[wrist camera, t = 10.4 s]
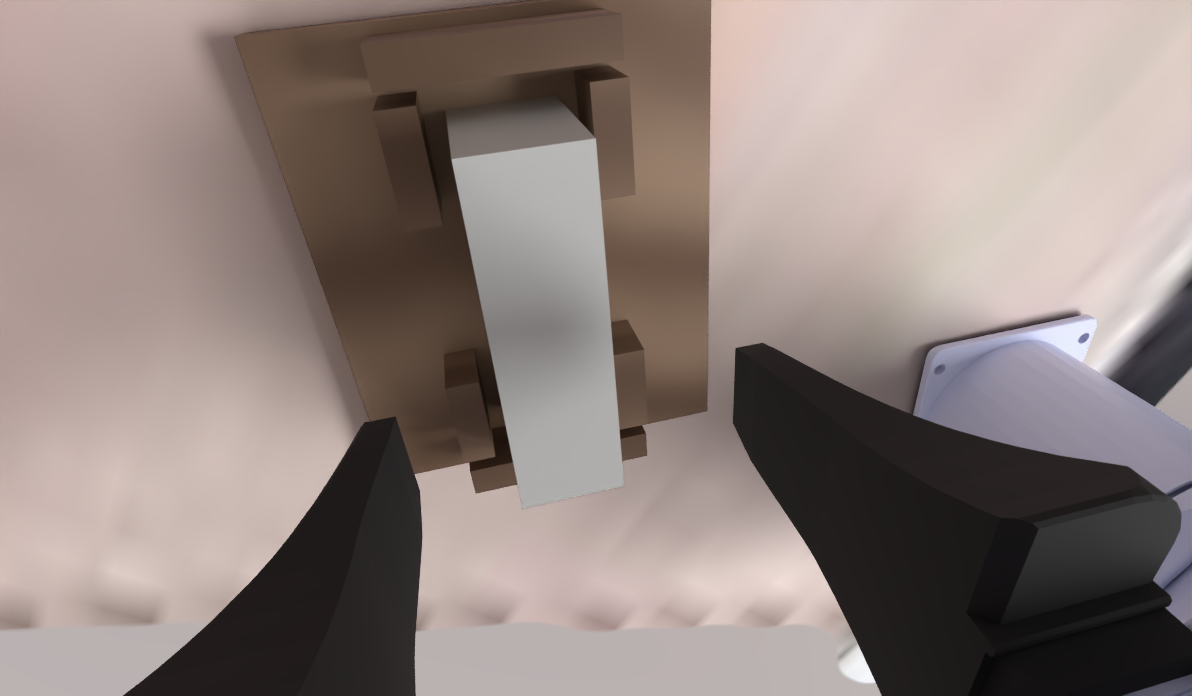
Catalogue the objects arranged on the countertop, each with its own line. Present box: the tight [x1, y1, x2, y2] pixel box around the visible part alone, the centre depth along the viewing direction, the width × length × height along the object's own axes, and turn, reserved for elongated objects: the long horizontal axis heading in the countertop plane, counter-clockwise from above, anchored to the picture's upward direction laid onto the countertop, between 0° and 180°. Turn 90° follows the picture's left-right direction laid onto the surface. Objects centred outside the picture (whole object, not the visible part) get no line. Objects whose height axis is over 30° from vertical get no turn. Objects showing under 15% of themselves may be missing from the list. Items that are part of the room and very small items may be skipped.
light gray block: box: [445, 95, 624, 509], centre depth 18 cm, size 10×3×5 cm, turn 5°
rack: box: [234, 0, 711, 493], centre depth 20 cm, size 14×12×3 cm
